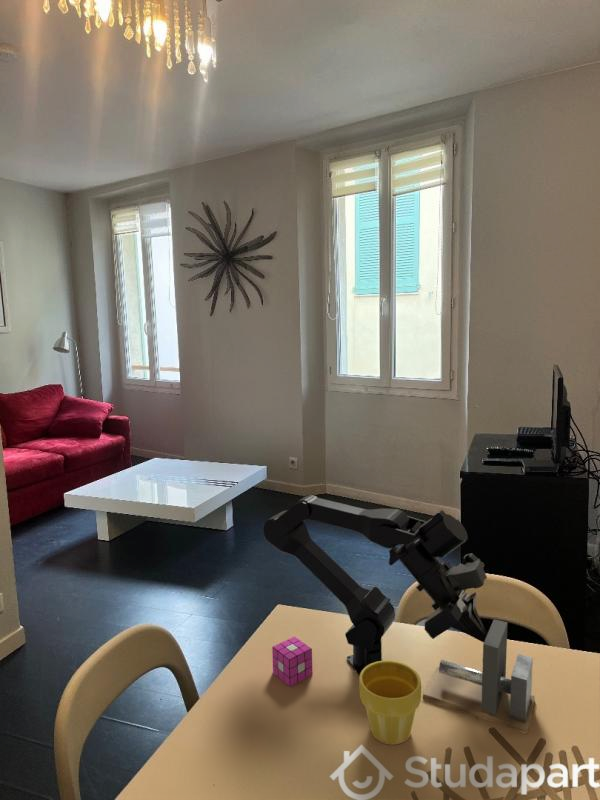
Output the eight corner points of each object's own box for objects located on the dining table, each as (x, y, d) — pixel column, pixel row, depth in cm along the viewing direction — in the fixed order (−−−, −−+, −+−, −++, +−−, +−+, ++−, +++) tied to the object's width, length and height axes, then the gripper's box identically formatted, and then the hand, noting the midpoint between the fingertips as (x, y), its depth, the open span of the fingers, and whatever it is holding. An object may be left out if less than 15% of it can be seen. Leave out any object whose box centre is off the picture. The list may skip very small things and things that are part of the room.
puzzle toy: (272, 672, 111) (271, 646, 110) (295, 661, 114) (294, 635, 113) (290, 687, 106) (289, 659, 105) (312, 675, 110) (312, 648, 109)
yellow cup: (348, 719, 97) (348, 668, 96) (399, 703, 101) (399, 653, 100) (378, 762, 88) (378, 706, 86) (433, 742, 91) (434, 688, 90)
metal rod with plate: (435, 694, 102) (435, 653, 101) (445, 672, 108) (446, 634, 106) (525, 723, 94) (526, 680, 93) (531, 698, 100) (532, 657, 99)
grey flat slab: (481, 710, 97) (483, 644, 95) (491, 680, 104) (493, 619, 102) (495, 715, 95) (497, 648, 94) (505, 684, 103) (507, 622, 101)
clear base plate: (422, 698, 102) (422, 693, 102) (436, 671, 110) (437, 666, 110) (527, 733, 93) (527, 727, 93) (534, 701, 101) (534, 695, 101)
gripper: (444, 566, 91) (512, 647, 87) (470, 528, 107) (529, 595, 103) (398, 600, 96) (461, 677, 92) (430, 559, 112) (485, 623, 108)
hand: (486, 640), depth 99 cm, fingers closed, pressing on grey flat slab
